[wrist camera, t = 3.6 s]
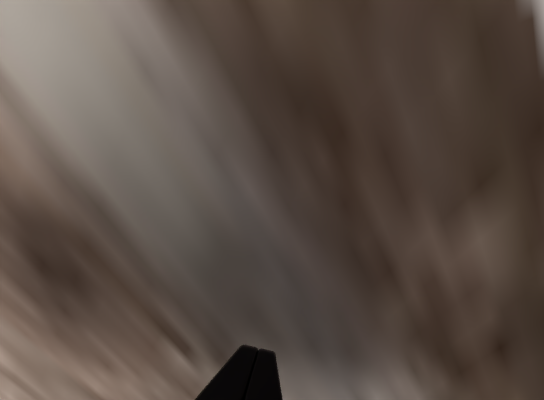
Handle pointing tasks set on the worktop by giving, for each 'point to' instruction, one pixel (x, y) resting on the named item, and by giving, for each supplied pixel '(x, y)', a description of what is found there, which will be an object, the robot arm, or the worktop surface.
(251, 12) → the worktop surface
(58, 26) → the worktop surface
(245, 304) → the worktop surface
